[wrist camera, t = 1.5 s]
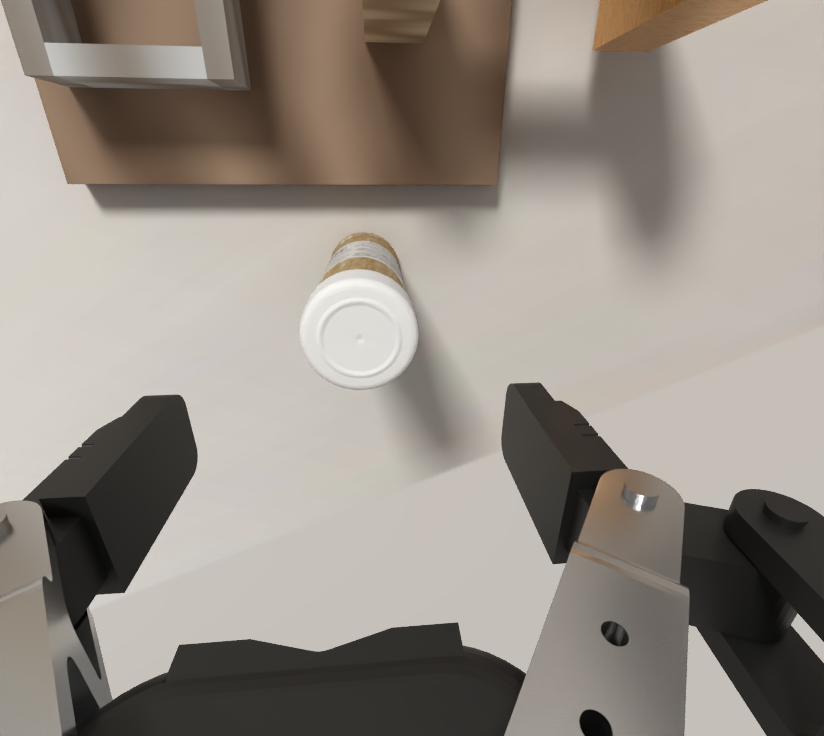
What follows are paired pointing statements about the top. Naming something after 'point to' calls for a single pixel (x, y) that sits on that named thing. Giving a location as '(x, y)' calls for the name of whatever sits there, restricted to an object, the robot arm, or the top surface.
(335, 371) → the spice jar
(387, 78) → the socket base
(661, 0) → the bar
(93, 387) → the top surface
